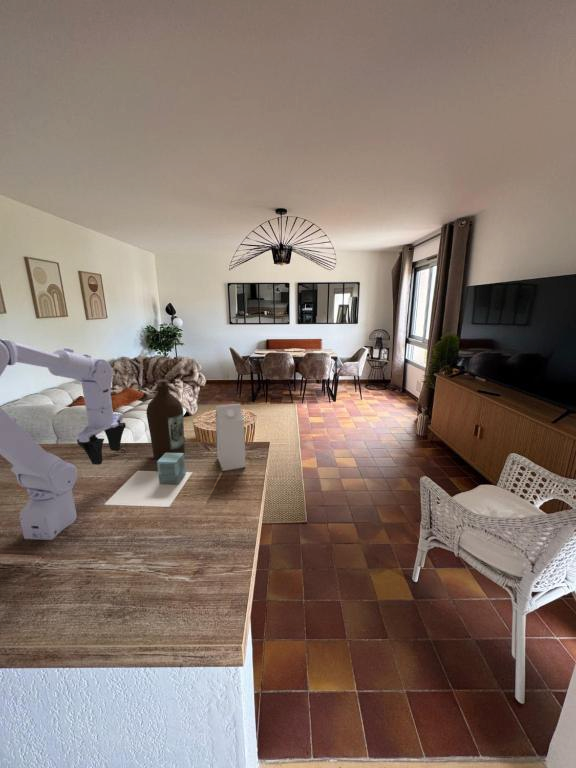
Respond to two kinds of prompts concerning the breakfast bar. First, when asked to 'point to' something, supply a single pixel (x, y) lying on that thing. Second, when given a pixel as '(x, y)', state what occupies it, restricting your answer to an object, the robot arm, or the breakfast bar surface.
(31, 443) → the robot arm
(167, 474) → the teal brushed cube
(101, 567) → the breakfast bar surface
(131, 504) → the base board
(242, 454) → the milk carton
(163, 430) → the olive oil
